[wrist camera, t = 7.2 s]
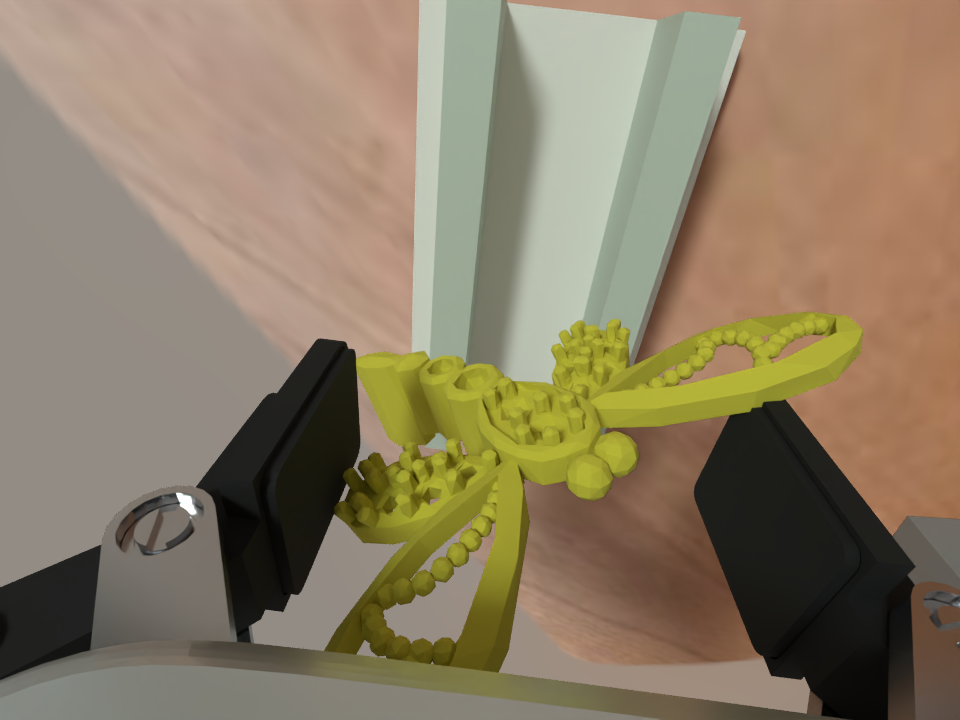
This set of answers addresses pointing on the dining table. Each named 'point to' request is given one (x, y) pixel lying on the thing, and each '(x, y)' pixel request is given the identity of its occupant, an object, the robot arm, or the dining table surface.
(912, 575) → the perfume bottle
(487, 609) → the decorative insect
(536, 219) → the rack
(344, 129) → the dining table surface
